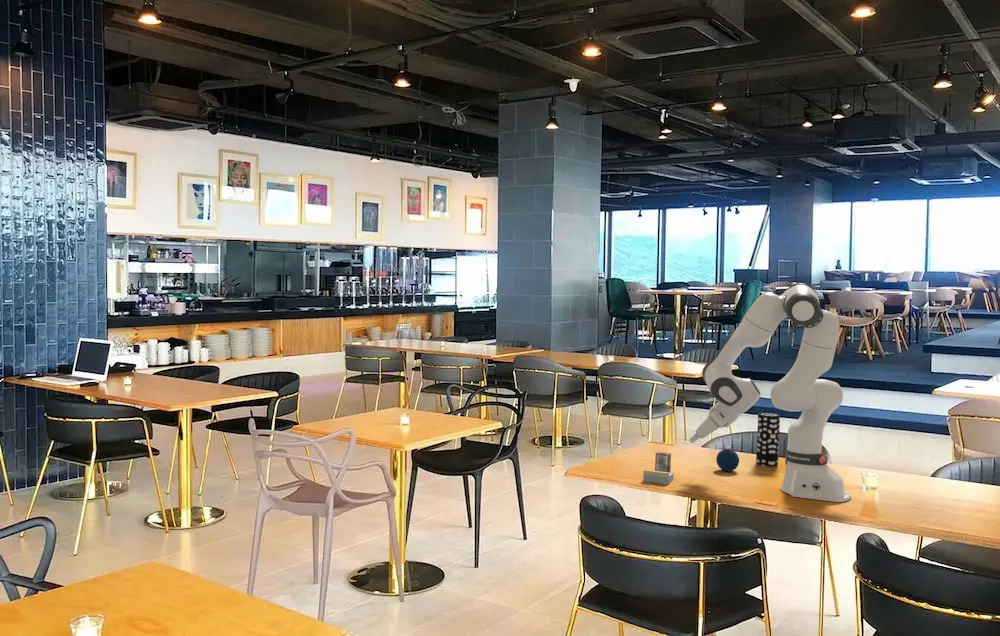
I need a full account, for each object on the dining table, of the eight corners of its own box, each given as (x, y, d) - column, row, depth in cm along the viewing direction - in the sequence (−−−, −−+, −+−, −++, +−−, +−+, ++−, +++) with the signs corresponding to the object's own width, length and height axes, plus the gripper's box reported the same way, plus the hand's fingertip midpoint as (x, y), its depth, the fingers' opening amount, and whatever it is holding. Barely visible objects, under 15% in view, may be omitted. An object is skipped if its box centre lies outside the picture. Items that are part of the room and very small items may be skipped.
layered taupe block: (670, 474, 310) (671, 453, 310) (668, 476, 307) (669, 454, 307) (656, 473, 312) (657, 451, 312) (654, 474, 309) (655, 453, 309)
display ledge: (673, 479, 302) (673, 468, 301) (668, 484, 294) (668, 473, 294) (648, 476, 305) (649, 466, 305) (643, 481, 298) (643, 470, 298)
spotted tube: (773, 468, 326) (775, 417, 326) (752, 464, 331) (755, 414, 331) (781, 464, 333) (783, 414, 332) (760, 461, 338) (762, 412, 337)
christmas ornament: (736, 469, 323) (737, 443, 322) (740, 474, 314) (741, 447, 314) (714, 468, 324) (715, 442, 323) (717, 472, 315) (718, 446, 315)
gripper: (720, 404, 310) (692, 428, 314) (711, 412, 291) (681, 437, 295) (732, 417, 308) (704, 441, 313) (723, 426, 290) (694, 451, 294)
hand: (693, 439), depth 304 cm, fingers open, 8 cm apart
